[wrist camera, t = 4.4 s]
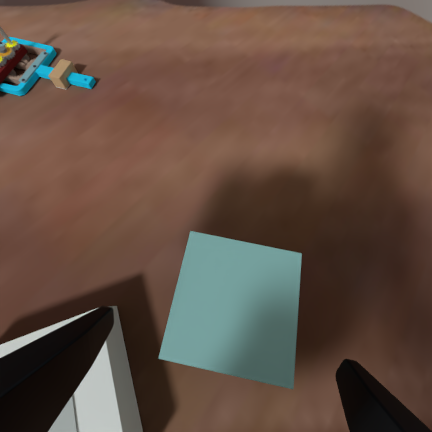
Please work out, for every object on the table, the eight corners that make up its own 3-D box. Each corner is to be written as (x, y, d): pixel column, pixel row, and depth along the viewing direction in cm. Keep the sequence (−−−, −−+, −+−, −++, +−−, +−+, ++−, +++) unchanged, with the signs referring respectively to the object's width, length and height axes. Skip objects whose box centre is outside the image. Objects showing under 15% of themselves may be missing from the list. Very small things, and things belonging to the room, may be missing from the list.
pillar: (239, 331, 18) (292, 389, 6) (190, 320, 18) (158, 358, 7) (246, 279, 19) (301, 253, 8) (201, 270, 19) (190, 230, 8)
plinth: (148, 456, 15) (133, 495, 12) (-15, 536, 13) (-78, 603, 10) (116, 305, 18) (98, 307, 15) (-18, 357, 16) (-67, 369, 14)
